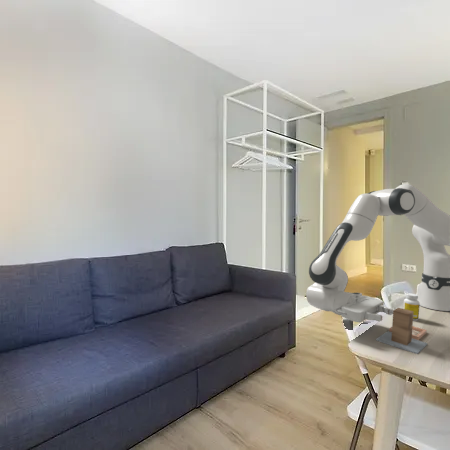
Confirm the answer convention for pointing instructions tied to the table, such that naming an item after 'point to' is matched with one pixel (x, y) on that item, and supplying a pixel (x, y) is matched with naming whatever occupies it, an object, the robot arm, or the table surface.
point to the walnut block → (402, 326)
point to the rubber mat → (413, 346)
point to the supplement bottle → (412, 305)
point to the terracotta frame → (422, 332)
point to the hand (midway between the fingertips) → (387, 315)
